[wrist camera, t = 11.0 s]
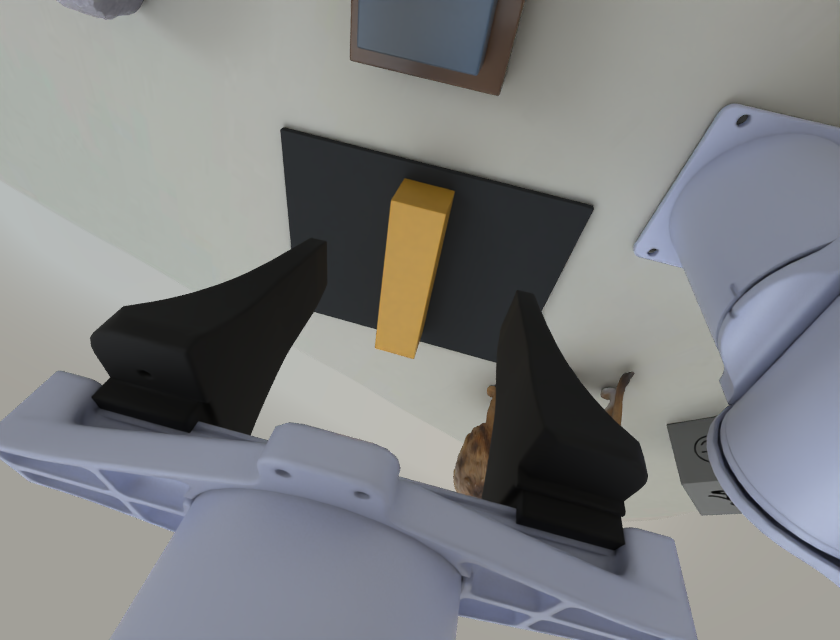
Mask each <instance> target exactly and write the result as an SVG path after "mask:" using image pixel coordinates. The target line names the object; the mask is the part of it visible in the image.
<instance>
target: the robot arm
mask: <svg viewBox="0 0 840 640" xmlns="http://www.w3.org/2000/svg"><path fill="white" fill-rule="evenodd" d="M746 114H748V118H747V120H746V121H745V122H744V123H742V124H737V125H736V122H737V120H738V118H739V117H740V116H743V115H746ZM653 248H656V249H657V250H656V251H655V252H652V253H649V252H648V251H649V250H650V249H653ZM633 250H634V253H635V255H636V256H638V257H641V258H645V259H649V260H653V261H657V262H661V263H665V264H669V265H672V266H676V267H680V268H683V269H684V271H685V273H686V276H687V278H688V281H689V283H690V285H691V288H692V290H693V292H694V295H695V297H696V299H697V302H698V304H699V307H700V309H701V311H702V314H703V316H704V318H705V321H706V323H707V325H708V328H709V330H710V332H711V335H712V337H713V340H714V342H715V344H716V347H717V349H718V351H719V353H720V356H721V358H722V361H723V363H724V372H723V375H722V376H721V378H720V379H719V382H720V384H721V387H722V389H723V392H724V394H725V397H726V399H727V402H728V404H729V405H730V406H727V407H726V408H725V409H724V410H723V411H722V412H721V413H720V414H719V415H718V416H717V417H716V418H715V419H714V420H713V422H712V424H711V425H710V428H709V431H708V435H707V452H708V458H709V461H710V464H711V467H712V469H713V472H714V474H715V476H716V478H717V480H718V481H719V483H720V485H721V487H722V488H723V490H724V491H725V493H726V494H727V495H728V497H729V498H730V500H731V501H732V502H733V503H734V505H735V506H736V507H737V508H738V509H739V510H740V511H741V512H742V514H743V515H744V516H745V517H746V518H747V519H748V520H749V521H750V522H752V524H754V525H755V526H756V527H757V528H758V529H759V530H760V531H761V532H762V533H763V534H765V535H766V536H767V537H769V538H770V539H771V540H773V541H774V542H775V543H776V544H778V545H779V546H780V547H782V548H784V549H785V550H787V551H788V552H790V553H791V554H793V555H795V556H796V557H797V558H799V559H801V560H802V561H804V562H805V563H807V564H808V565H810V566H812V567H813V568H815V569H816V570H818V571H819V572H820V573H822V574H823V575H824V576H826V577H827V578H828V579H830V580H831V581H832V582H834V583H835V584H836V585H837V586H838V587H839V588H840V127H836V126H832V125H827V124H823V123H819V122H814V121H810V120H806V119H802V118H797V117H793V116H789V115H784V114H780V113H776V112H772V111H767V110H763V109H759V108H754V107H750V106H746V105H742V104H733V103H732V104H729V105H727V106H725V107H724V108H722V109H721V110H720V112H719V113H718V114H717V116H716V117H715V119H714V120H713V122H712V124H711V125H710V127H709V128H708V130H707V131H706V133H705V134H704V136H703V138H702V139H701V141H700V142H699V144H698V145H697V147H696V149H695V150H694V152H693V153H692V155H691V156H690V158H689V160H688V161H687V163H686V164H685V166H684V167H683V169H682V171H681V172H680V174H679V175H678V177H677V178H676V180H675V182H674V183H673V185H672V186H671V188H670V189H669V191H668V192H667V194H666V196H665V197H664V199H663V200H662V202H661V203H660V205H659V207H658V208H657V210H656V211H655V213H654V214H653V216H652V218H651V219H650V221H649V222H648V224H647V225H646V227H645V229H644V230H643V232H642V233H641V235H640V236H639V238H638V239H637V241H636V243H635V244H634V247H633ZM326 286H327V241H323V240H319V239H315V238H309V239H307V240H306V241H304V242H302V243H301V244H299V245H297V246H295V247H294V248H292V249H290V250H289V251H287V252H285V253H284V254H282V255H280V256H278V257H277V258H275V259H273V260H271V261H270V262H268V263H266V264H264V265H262V266H260V267H258V268H256V269H254V270H252V271H250V272H248V273H246V274H243V275H241V276H239V277H236V278H234V279H231V280H229V281H226V282H224V283H221V284H218V285H215V286H212V287H209V288H206V289H203V290H200V291H196V292H193V293H189V294H186V295H182V296H178V297H173V298H169V299H164V300H159V301H154V302H148V303H141V304H135V305H129V306H123V307H122V308H121V309H120V310H118V311H117V312H116V313H115V314H114V315H113V316H112V317H111V318H109V319H108V320H107V321H106V322H105V323H104V324H103V325H101V326H100V327H99V328H98V329H97V330H96V331H95V332H93V334H92V335H91V337H90V340H91V347H92V349H93V351H94V353H95V355H96V356H97V358H98V359H99V361H100V362H101V363H102V365H103V367H104V368H105V370H106V371H107V372H108V374H109V376H110V378H109V379H108V380H107V382H105V383H104V384H103V385H101V384H100V383H98V382H97V381H95V380H93V379H90V378H86V377H83V376H79V375H75V374H72V373H68V372H65V371H57V372H55V373H54V374H53V375H52V376H51V377H50V378H49V379H48V380H46V381H45V382H44V383H43V384H42V385H41V386H40V387H39V388H38V389H36V390H35V391H34V392H33V393H32V394H31V395H30V396H28V397H27V398H26V399H25V400H24V401H23V402H22V403H21V404H20V405H18V406H17V407H16V408H15V409H14V410H13V411H12V412H11V413H10V414H8V415H7V416H6V417H5V418H4V419H3V420H2V421H1V422H0V459H1V460H2V461H3V462H5V463H6V464H7V465H9V466H10V467H11V468H13V469H14V470H15V471H16V472H18V473H19V474H20V475H21V476H23V477H24V478H25V479H27V480H28V481H29V482H32V483H35V484H39V485H42V486H45V487H48V488H52V489H55V490H58V491H62V492H64V493H68V494H71V495H74V496H77V497H80V498H83V499H86V500H88V501H91V502H94V503H97V504H100V505H102V506H105V507H108V508H111V509H114V510H116V511H119V512H122V513H124V514H127V515H130V516H133V517H135V518H138V519H140V520H143V521H146V522H148V523H151V524H154V525H156V526H159V527H162V528H165V529H167V530H170V531H172V532H175V533H174V535H173V536H172V538H171V540H170V541H169V543H168V545H167V546H166V548H165V549H164V551H163V553H162V554H161V556H160V558H159V559H158V561H157V563H156V564H155V566H154V567H153V569H152V571H151V572H150V574H149V576H148V578H147V579H146V580H145V582H144V584H143V585H142V587H141V589H140V590H139V592H138V594H137V595H136V597H135V598H134V600H133V602H132V604H131V605H130V607H129V608H128V610H127V612H126V613H125V615H124V617H123V618H122V620H121V622H120V623H119V625H118V626H117V628H116V630H115V631H114V633H113V635H112V636H111V638H110V639H109V640H456V630H457V621H458V616H461V617H466V618H471V619H476V620H480V621H485V622H491V623H495V624H500V625H505V626H510V627H515V628H520V629H525V630H530V631H534V632H539V633H544V634H549V635H554V636H559V637H564V638H568V639H573V640H698V639H697V634H696V630H695V626H694V622H693V618H692V613H691V609H690V605H689V601H688V597H687V592H686V589H685V584H684V580H683V575H682V571H681V567H680V563H679V559H678V554H677V550H676V546H675V542H674V540H673V539H672V538H670V537H668V536H664V535H660V534H656V533H653V532H649V531H645V530H642V529H638V528H630V527H629V528H623V527H622V521H621V517H623V516H625V513H626V511H625V505H624V501H625V500H626V499H628V498H629V497H630V496H632V495H633V494H634V493H636V492H637V491H638V490H640V489H641V488H642V487H643V486H644V485H645V484H646V482H647V479H648V474H647V469H646V464H645V460H644V456H643V453H642V449H641V446H640V443H639V442H638V441H637V440H636V439H635V438H634V437H633V436H631V435H630V434H629V433H628V432H627V431H626V430H625V429H624V428H623V427H621V426H620V425H619V424H618V423H617V422H616V421H615V420H614V419H613V418H612V417H611V416H610V415H609V414H608V413H607V412H606V411H605V410H604V409H603V408H602V407H601V406H600V404H599V403H598V402H597V401H596V400H595V399H594V398H593V396H592V395H591V394H590V393H589V392H588V390H587V389H586V388H585V387H584V386H583V384H582V383H581V382H580V380H579V379H578V378H577V376H576V375H575V373H574V372H573V371H572V369H571V368H570V366H569V365H568V363H567V362H566V360H565V358H564V357H563V355H562V353H561V351H560V350H559V348H558V346H557V344H556V342H555V340H554V338H553V336H552V334H551V332H550V330H549V328H548V326H547V324H546V321H545V319H544V317H543V314H542V312H541V310H540V307H539V305H538V302H537V300H536V297H535V295H534V294H533V293H529V292H525V291H521V290H517V291H516V294H515V296H514V298H513V301H512V303H511V305H510V307H509V310H508V312H507V314H506V317H505V319H504V321H503V324H502V326H501V329H500V335H499V341H498V348H497V363H496V403H495V415H494V422H493V430H492V437H491V444H490V450H489V457H488V463H487V469H486V475H485V481H484V487H483V492H482V498H481V499H479V498H476V497H472V496H468V495H465V494H461V493H458V492H454V491H450V490H446V489H443V488H439V487H436V486H432V485H428V484H425V483H421V482H417V481H414V480H410V479H407V478H403V477H399V472H400V464H399V461H398V459H397V458H396V456H395V455H393V454H392V453H391V452H390V451H389V450H388V449H386V448H383V447H381V446H378V445H376V444H374V443H371V442H367V441H363V440H360V439H356V438H352V437H349V436H345V435H341V434H337V433H334V432H330V431H327V430H323V429H319V428H316V427H312V426H308V425H305V424H299V423H291V422H289V423H285V424H282V425H279V426H276V427H275V429H274V431H273V433H272V435H271V436H270V439H269V440H265V439H261V438H258V437H254V436H250V435H251V433H252V430H253V428H254V425H255V423H256V420H257V418H258V416H259V413H260V411H261V408H262V406H263V404H264V402H265V399H266V397H267V395H268V392H269V390H270V388H271V386H272V384H273V382H274V380H275V377H276V375H277V373H278V371H279V369H280V367H281V365H282V363H283V361H284V359H285V357H286V355H287V353H288V352H289V350H290V348H291V347H292V345H293V343H294V342H295V340H296V339H297V337H298V336H299V334H300V333H301V331H302V329H303V328H304V326H305V325H306V323H307V322H308V320H309V319H310V317H311V315H312V314H313V312H314V311H315V309H316V307H317V306H318V304H319V302H320V299H321V297H322V295H323V293H324V291H325V288H326ZM732 404H733V405H732Z"/></svg>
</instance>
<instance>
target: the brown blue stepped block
mask: <svg viewBox="0 0 840 640" xmlns="http://www.w3.org/2000/svg"><path fill="white" fill-rule="evenodd" d="M524 3H525V0H351V35H350V60H351V61H354V62H358V63H363V64H367V65H371V66H375V67H379V68H383V69H388V70H392V71H396V72H400V73H404V74H408V75H413V76H417V77H421V78H425V79H429V80H433V81H438V82H442V83H446V84H450V85H454V86H458V87H463V88H467V89H471V90H475V91H479V92H483V93H487V94H492V95H496V96H499V94H500V92H501V89H502V86H503V82H504V78H505V74H506V71H507V67H508V63H509V59H510V56H511V52H512V48H513V44H514V41H515V37H516V33H517V30H518V26H519V22H520V18H521V15H522V11H523V7H524Z"/></svg>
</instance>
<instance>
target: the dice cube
mask: <svg viewBox="0 0 840 640" xmlns="http://www.w3.org/2000/svg"><path fill="white" fill-rule="evenodd" d="M715 418H716V417H713V418H706V419H700V420H694V421H688V422H682V423H676V424H669V425H667V429H668V433H669V437H670V441H671V445H672V449H673V453H674V457H675V461H676V465H677V469H678V473H679V477H680V481H681V484H682V486H683V488H684V489H685V491H686V492H687V494H688V495H689V497H690V499H691V500H692V502H693V503H694V505H695V506H696V508H697V510H698V511H699V513H700V514H701V515H722V514H742V512H741V511H740V510H739V509H738V508H737V507H736V506H735V505H734V503H733V502H732V501H731V500H730V498H729V497H728V495H727V494H726V493H725V491H724V490H723V488H722V487H721V485H720V483H719V481H718V480H717V478H716V476H715V474H714V472H713V469H712V467H711V464H710V461H709V458H708V452H707V435H708V431H709V428H710V425H711V424H712V422H713V420H714V419H715Z"/></svg>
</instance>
